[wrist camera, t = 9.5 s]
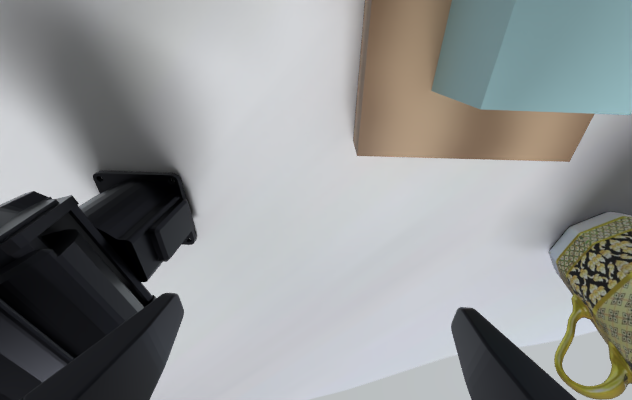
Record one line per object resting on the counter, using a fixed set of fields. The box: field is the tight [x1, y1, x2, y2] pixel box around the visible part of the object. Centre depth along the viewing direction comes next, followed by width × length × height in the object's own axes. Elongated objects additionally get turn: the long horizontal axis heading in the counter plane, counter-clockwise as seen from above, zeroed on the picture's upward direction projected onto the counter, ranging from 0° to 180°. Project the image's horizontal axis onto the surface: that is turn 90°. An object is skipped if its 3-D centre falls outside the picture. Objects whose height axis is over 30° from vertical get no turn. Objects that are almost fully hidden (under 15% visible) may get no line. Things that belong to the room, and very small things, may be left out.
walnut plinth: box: [353, 0, 594, 162], centre depth 13 cm, size 12×12×3 cm
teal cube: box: [431, 0, 632, 115], centre depth 10 cm, size 5×5×5 cm
